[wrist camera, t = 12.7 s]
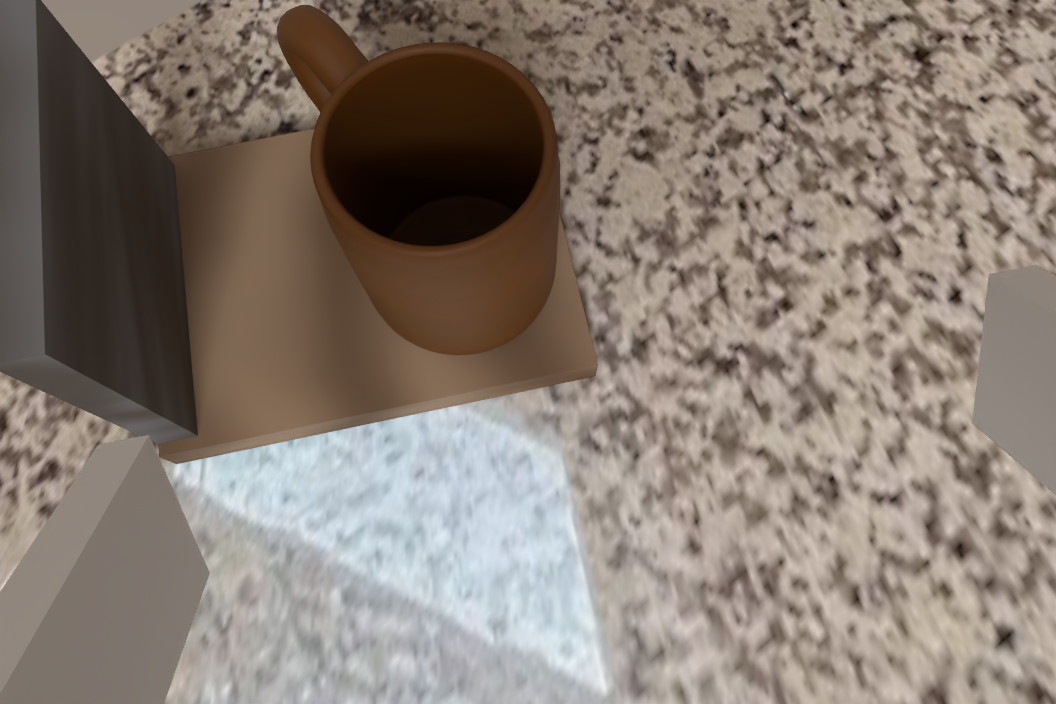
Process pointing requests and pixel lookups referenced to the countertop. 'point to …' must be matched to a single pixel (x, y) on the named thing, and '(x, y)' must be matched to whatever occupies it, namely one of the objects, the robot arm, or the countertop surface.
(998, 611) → the countertop surface
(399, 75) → the mug
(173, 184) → the shelf
